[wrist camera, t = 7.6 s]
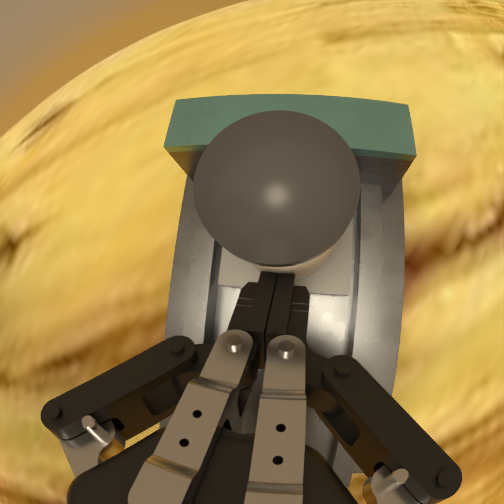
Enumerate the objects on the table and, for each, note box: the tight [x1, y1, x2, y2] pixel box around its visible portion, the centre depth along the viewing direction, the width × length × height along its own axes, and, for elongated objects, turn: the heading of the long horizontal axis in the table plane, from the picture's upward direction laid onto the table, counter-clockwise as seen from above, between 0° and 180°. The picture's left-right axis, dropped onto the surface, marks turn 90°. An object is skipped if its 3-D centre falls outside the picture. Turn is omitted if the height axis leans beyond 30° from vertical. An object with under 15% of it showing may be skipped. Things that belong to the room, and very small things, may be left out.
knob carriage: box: [193, 110, 361, 296], centre depth 14 cm, size 7×6×8 cm
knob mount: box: [160, 94, 416, 487], centre depth 15 cm, size 14×22×7 cm, turn 174°
